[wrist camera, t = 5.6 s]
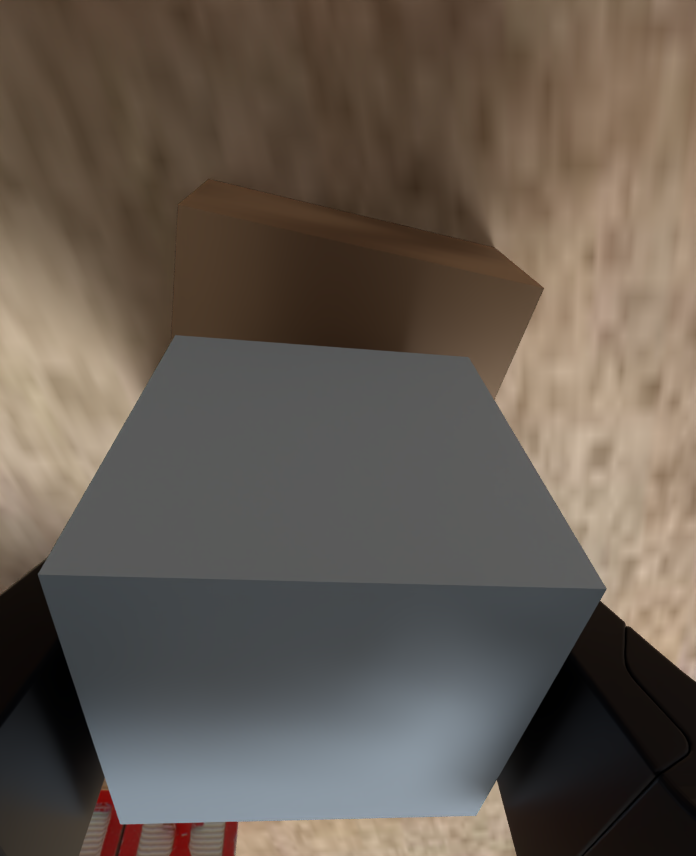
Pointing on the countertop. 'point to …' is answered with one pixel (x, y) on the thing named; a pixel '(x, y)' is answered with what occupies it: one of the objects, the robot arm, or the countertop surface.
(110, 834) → the stack of blocks
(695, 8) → the countertop surface
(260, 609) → the slate cube
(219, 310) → the walnut slab
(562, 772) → the robot arm
